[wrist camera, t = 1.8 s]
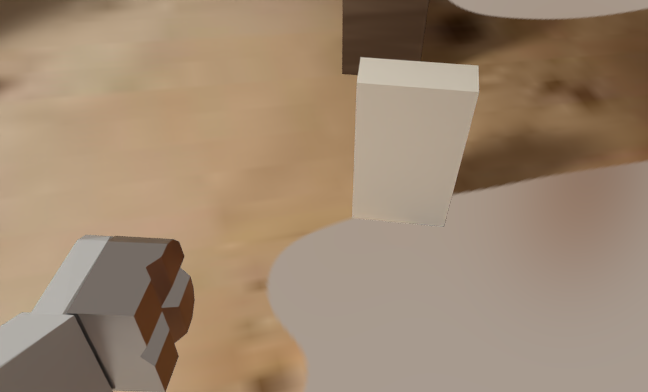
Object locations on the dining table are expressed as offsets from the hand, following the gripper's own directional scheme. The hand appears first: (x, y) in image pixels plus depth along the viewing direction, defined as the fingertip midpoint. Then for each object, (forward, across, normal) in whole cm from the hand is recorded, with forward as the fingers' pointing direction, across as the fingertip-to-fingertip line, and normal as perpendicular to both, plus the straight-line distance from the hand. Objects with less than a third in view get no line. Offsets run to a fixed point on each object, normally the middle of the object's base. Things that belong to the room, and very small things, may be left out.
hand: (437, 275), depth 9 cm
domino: (+30, +2, +12) cm, 32 cm away
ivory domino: (+19, +1, +15) cm, 24 cm away
